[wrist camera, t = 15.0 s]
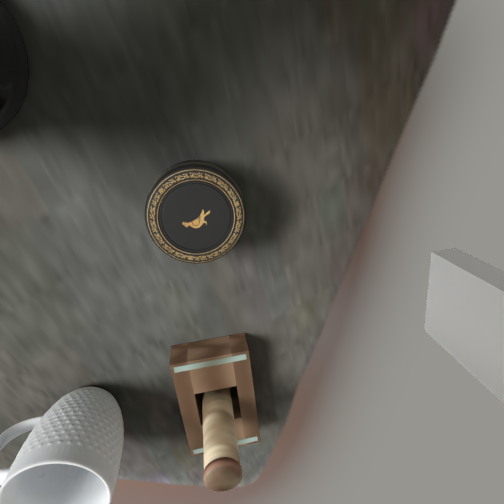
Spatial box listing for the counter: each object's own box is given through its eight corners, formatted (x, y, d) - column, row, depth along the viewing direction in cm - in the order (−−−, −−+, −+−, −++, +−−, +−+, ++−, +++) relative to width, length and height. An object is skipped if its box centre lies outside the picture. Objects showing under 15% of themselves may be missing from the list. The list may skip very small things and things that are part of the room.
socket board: (191, 432, 52) (191, 456, 48) (171, 345, 46) (169, 365, 43) (256, 419, 53) (260, 442, 49) (244, 332, 47) (248, 351, 44)
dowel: (203, 399, 50) (207, 495, 37) (199, 377, 49) (201, 469, 36) (231, 393, 51) (244, 486, 38) (227, 371, 49) (239, 460, 36)
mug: (22, 439, 48) (-36, 545, 36) (10, 374, 44) (-59, 469, 32) (134, 432, 51) (114, 529, 38) (131, 371, 47) (109, 457, 35)
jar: (255, 192, 41) (268, 207, 34) (206, 256, 43) (208, 283, 36) (185, 138, 38) (182, 142, 31) (135, 210, 39) (122, 229, 32)
